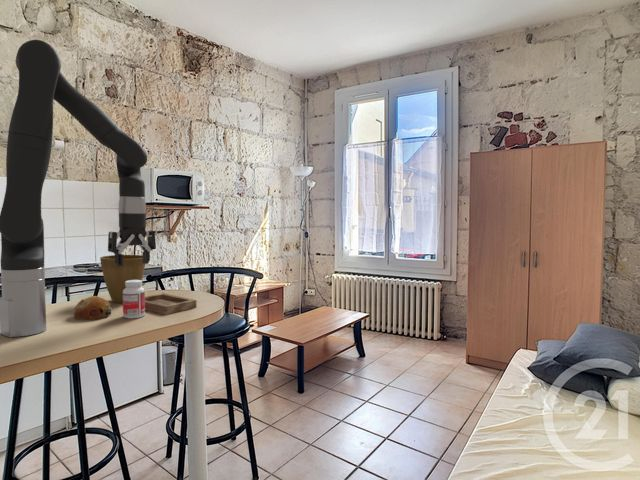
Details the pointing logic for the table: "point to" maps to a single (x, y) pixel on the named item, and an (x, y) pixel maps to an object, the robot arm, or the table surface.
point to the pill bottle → (133, 299)
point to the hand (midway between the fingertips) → (133, 264)
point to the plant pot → (121, 274)
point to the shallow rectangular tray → (168, 303)
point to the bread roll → (92, 308)
